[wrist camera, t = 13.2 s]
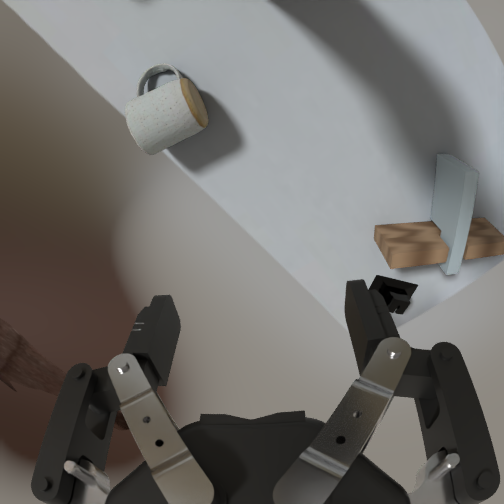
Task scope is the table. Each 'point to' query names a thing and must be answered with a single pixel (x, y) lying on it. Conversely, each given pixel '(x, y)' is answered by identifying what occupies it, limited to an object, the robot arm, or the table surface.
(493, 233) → the brown wooden board
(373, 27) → the table surface
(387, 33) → the table surface
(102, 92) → the table surface
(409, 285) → the black plastic bracket
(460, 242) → the blue grey block
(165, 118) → the ceramic mug
